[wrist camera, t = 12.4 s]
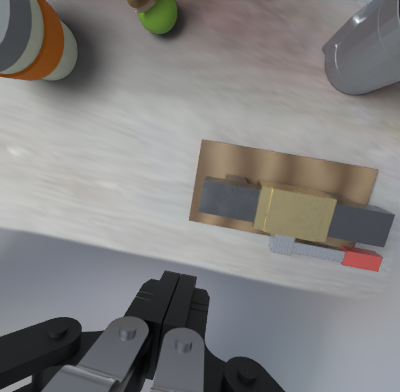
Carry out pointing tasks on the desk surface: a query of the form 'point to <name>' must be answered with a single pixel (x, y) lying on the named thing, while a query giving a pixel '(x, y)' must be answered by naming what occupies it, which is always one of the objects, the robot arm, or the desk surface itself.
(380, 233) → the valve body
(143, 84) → the desk surface
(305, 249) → the valve lever
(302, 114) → the desk surface
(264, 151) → the base board
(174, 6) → the snail figurine
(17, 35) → the reusable coffee cup
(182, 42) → the desk surface
